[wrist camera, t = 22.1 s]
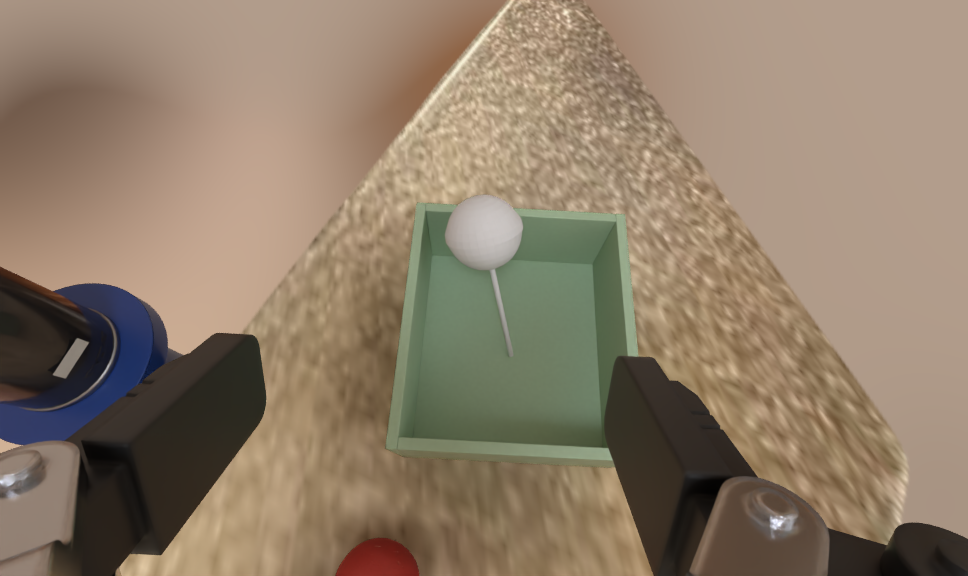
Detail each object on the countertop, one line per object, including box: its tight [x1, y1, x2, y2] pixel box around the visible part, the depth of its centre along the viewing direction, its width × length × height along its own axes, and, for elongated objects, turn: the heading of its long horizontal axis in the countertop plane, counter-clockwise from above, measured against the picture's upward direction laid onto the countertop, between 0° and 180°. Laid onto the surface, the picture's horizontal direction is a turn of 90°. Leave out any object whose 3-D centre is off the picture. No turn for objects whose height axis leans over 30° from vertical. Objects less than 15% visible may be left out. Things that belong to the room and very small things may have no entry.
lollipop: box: [445, 195, 523, 357], centre depth 37 cm, size 6×6×15 cm
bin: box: [385, 203, 638, 468], centre depth 38 cm, size 18×20×9 cm
